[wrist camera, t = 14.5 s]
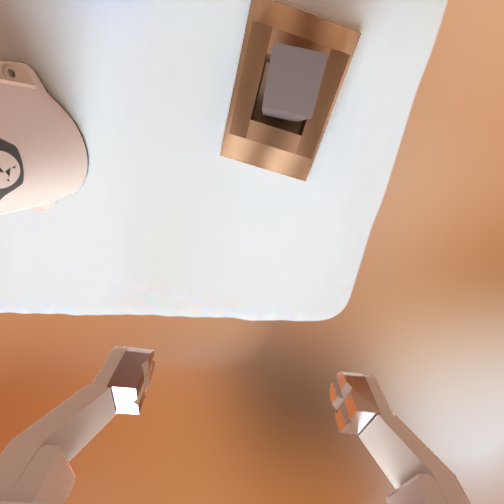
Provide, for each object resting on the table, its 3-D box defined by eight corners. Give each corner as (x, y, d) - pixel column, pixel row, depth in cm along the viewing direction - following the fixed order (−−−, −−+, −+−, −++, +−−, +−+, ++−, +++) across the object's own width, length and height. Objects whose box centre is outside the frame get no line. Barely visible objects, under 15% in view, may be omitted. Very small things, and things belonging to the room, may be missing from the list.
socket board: (221, 154, 32) (215, 157, 28) (253, -2, 25) (251, -28, 21) (304, 179, 33) (309, 186, 29) (358, 36, 26) (374, 19, 22)
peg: (262, 116, 29) (261, 107, 18) (269, 76, 27) (273, 41, 17) (294, 122, 29) (312, 117, 19) (303, 84, 27) (328, 54, 17)
